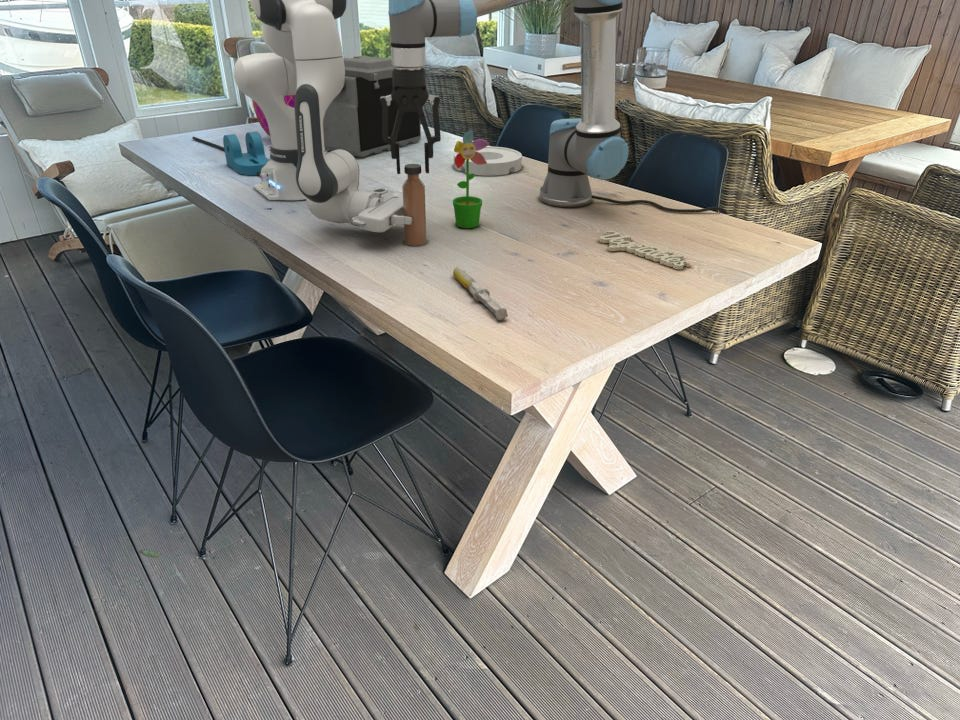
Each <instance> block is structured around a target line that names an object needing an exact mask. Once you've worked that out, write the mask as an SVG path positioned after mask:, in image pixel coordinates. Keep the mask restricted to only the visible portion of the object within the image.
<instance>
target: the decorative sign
mask: <svg viewBox="0 0 960 720" xmlns="http://www.w3.org/2000/svg"><path fill="white" fill-rule="evenodd" d="M599 243H602V244H608V245H609V246H608V252H619V251H623V252H625V251H626V252H627V253H630V254H634V255H635V256H638V257H640V258H645V259H646V260H651V261H653V262H659V264H661V265H665V266H666V267H671V268H672V269H674V270H683V269H684V267H686V268H689V267H690V261H689V260H685V259H684V258H685V257H684V254H675V253H674V251H672V250H664V251H659V250H658V247H655V246H654V245H648V244H646V243H643V244H638V243H636V242H632V236H631V235H622V236H620V232H618V231H614V230H606V234H605V235H601V236H600V237H599Z"/></svg>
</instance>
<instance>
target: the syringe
mask: <svg viewBox="0 0 960 720" xmlns="http://www.w3.org/2000/svg"><path fill="white" fill-rule="evenodd" d="M452 274H453V277H454V279H455V280H457V281H458V282H459V283H460V285H462V287H464V289H466V290H467V291H468V293H470V295H471V296H472V298H473V300H474V302H477V303H478V302H480V303H482V304H483V305H484V306H485V307H486V308H487V309H488V310H489V311H490V312H491V313H492V314H493V315H494V316H495V317H496V320H497V321H503V320H504V319H506V318H507V317H509V314H508V310H507V308H506V307H502V306H501V305H500V303H498V302H497V301H496V300H494V299H493V298H492V297H491V296H490V295H491V293H490V290H488V289H486V288H483V287H482V286H481V285H480V284H479V283H478V282H477V281H476V280H474V278H473V277H471V275H469V274H468V273H467V272H466V270H465V269H464V268H463V267H462V266H456V267H454V268H453V271H452Z"/></svg>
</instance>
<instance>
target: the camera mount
mask: <svg viewBox="0 0 960 720" xmlns="http://www.w3.org/2000/svg"><path fill="white" fill-rule="evenodd" d="M222 140H223V141H222V143H223V147H224V150H225V151H224V150H223V151H224V156H225V161H226V165H227V166H228V167H230V168H231V169H232V170H234V171H236V172H237V173H238V174H239V175H244V176H258V175H257V172H260V173H261V169H262V168H263V167H264V166H265V165H266V164H267V162H268V161H269V160H270V158H268V157H267V156H266V153H265V145H264V141H263V139H262V136H261V134H260V132H258V131H247V132H246V133H245V146H246V152H243V151H242V150H243V149H242V146H241V142H240V140H239V138H238V135H236V134H235V133H231V134H224V135H223V138H222Z"/></svg>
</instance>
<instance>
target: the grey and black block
mask: <svg viewBox="0 0 960 720" xmlns="http://www.w3.org/2000/svg"><path fill="white" fill-rule="evenodd" d="M343 58H344V65H345V82H344V86H343V88H342V90H341V92H340V93H339V94H338V95H337V97H336V98H335V99H334V100H333V101H332V102H331V104H330V105H329V107H328V108H327V110H326V112H325V115H324V119H323V132H324V147H325V151H326V150H327V151H329V152H331V151H334V150H336V149H343V150H346V151H348V152H350V153H351V154H352V155H353V156H354V157H357V158H362V159H363V158H366V157H367V158H368V157H369V155H371V154H375V155H377V154H381V153H382V152H383V151H391V146H390V144H388V143H384V142H383V138H382V132H383V108H382V105H381V102H380V97H381V96H384V97H385V96H388V95H391V92H392V90H393V81H392V70H393V69H394V68H395V67H393V66H392V62H391V58H385V57H377V56H367V55H356V56H353V57H350V58H349V57H343ZM397 112H398V106H397V105H396V104H395V102H394V101H393V100H391V101H390V106H388V137H391V136H392V132H393V128H394V124H395V120H396V116H397ZM421 126H422V123H421V121H420V118H419V115H418V112H411V111H410V112H404V115H403V118H402V122H401V126H400V129H399V133H398V137H397V141H396V143H399V147H405V146H407V145H408V144H416V143H418V142H419V141H421V137H422V128H421Z"/></svg>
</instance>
